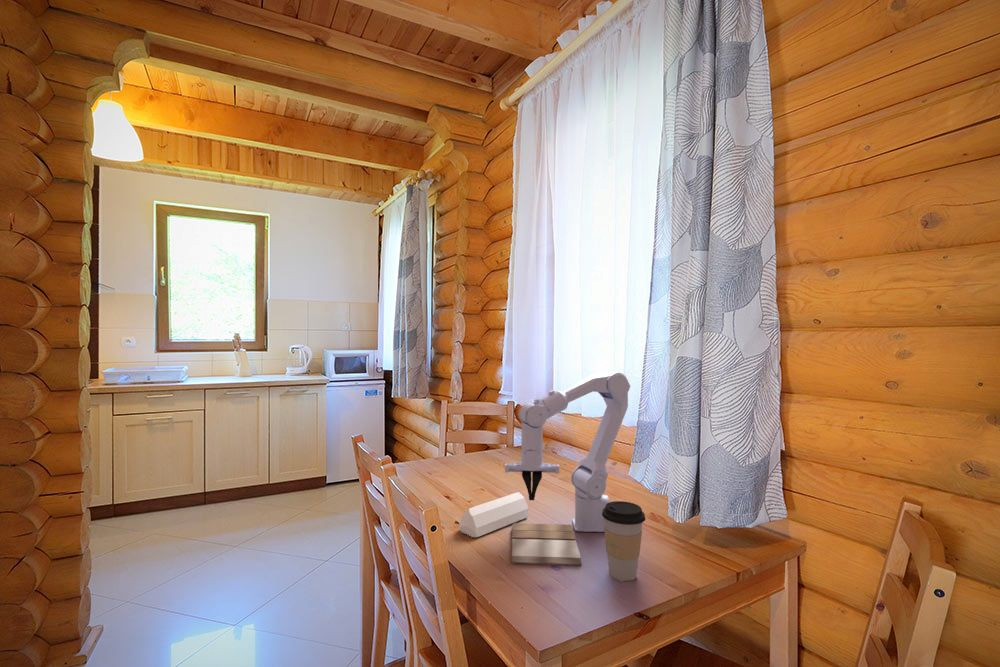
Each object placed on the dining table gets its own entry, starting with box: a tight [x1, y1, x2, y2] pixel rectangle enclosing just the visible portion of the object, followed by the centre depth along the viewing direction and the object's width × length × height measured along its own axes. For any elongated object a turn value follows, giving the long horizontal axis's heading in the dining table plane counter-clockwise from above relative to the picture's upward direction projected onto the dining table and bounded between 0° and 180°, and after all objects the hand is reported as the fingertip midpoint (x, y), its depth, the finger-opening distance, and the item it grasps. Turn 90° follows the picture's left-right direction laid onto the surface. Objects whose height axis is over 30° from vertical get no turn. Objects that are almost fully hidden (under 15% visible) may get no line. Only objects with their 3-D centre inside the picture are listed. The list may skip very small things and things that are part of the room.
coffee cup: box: [602, 500, 646, 582], centre depth 104 cm, size 9×9×15 cm
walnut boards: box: [511, 522, 576, 541], centre depth 122 cm, size 16×9×2 cm, turn 88°
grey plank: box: [511, 538, 582, 565], centre depth 112 cm, size 16×9×2 cm, turn 88°
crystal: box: [458, 491, 529, 538], centre depth 130 cm, size 7×7×24 cm
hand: (531, 499), depth 124 cm, fingers closed
